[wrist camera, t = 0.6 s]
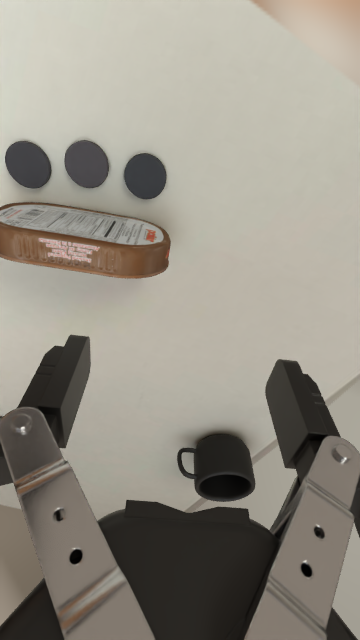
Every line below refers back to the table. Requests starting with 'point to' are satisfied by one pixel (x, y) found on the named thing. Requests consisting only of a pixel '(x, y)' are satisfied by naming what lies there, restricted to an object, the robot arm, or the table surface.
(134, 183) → the dark grey disc
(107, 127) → the table surface
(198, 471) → the mug
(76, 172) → the dark grey disc
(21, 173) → the dark grey disc
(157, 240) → the tin
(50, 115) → the table surface
